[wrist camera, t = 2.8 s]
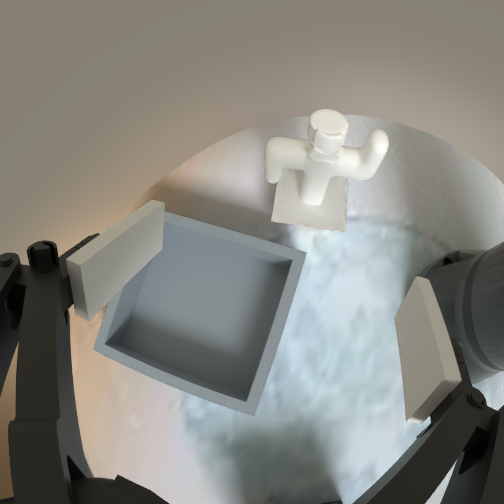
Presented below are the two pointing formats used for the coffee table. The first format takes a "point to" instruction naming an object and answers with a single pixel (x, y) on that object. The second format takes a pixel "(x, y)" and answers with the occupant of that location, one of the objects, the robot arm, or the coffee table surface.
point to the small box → (336, 503)
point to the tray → (205, 312)
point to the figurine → (319, 171)
